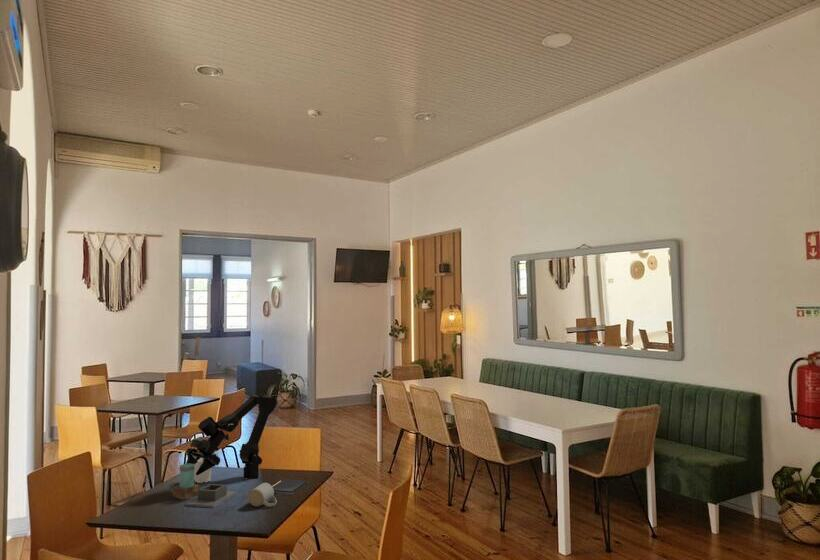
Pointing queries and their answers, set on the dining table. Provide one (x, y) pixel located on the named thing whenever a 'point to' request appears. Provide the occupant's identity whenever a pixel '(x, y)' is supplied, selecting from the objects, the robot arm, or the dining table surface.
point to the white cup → (203, 476)
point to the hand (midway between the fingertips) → (190, 473)
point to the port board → (211, 496)
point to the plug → (186, 475)
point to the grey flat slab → (288, 486)
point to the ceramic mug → (262, 495)
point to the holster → (185, 492)
